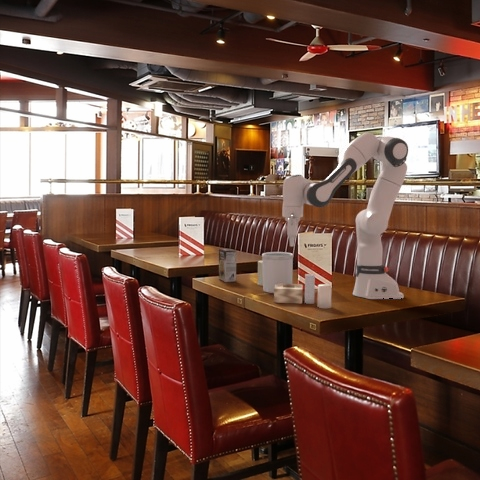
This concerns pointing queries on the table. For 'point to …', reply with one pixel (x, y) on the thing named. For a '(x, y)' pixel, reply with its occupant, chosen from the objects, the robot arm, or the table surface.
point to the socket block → (288, 293)
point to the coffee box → (227, 265)
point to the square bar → (309, 288)
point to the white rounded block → (324, 296)
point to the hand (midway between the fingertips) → (292, 245)
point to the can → (260, 273)
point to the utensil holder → (276, 269)
